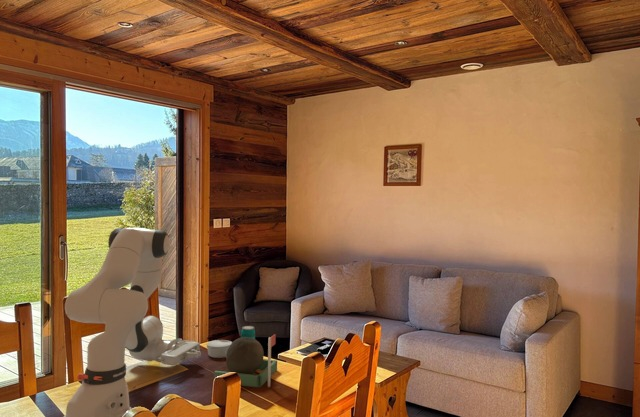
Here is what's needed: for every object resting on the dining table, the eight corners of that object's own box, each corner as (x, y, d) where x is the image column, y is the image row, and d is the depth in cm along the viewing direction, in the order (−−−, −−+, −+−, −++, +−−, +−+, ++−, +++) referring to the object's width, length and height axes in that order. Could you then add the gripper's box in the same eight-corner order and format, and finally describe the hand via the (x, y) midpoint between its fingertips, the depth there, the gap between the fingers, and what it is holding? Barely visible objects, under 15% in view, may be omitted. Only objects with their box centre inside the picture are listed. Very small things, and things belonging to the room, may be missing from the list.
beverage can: (251, 365, 207) (252, 329, 207) (238, 364, 209) (239, 328, 208) (256, 361, 213) (257, 326, 213) (243, 360, 214) (244, 325, 214)
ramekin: (235, 352, 226) (236, 340, 226) (227, 359, 215) (227, 347, 215) (212, 350, 228) (212, 338, 228) (202, 357, 217) (202, 345, 217)
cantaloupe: (248, 385, 185) (249, 345, 185) (218, 378, 192) (218, 339, 191) (269, 374, 197) (270, 336, 197) (240, 368, 204) (241, 331, 204)
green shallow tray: (268, 388, 183) (269, 339, 182) (214, 382, 188) (214, 334, 187) (284, 371, 201) (285, 326, 201) (234, 366, 206) (235, 322, 206)
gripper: (153, 351, 193) (186, 354, 189) (180, 337, 213) (210, 340, 209) (153, 367, 193) (186, 371, 190) (180, 352, 213) (210, 355, 209)
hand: (199, 354), depth 200 cm, fingers closed
